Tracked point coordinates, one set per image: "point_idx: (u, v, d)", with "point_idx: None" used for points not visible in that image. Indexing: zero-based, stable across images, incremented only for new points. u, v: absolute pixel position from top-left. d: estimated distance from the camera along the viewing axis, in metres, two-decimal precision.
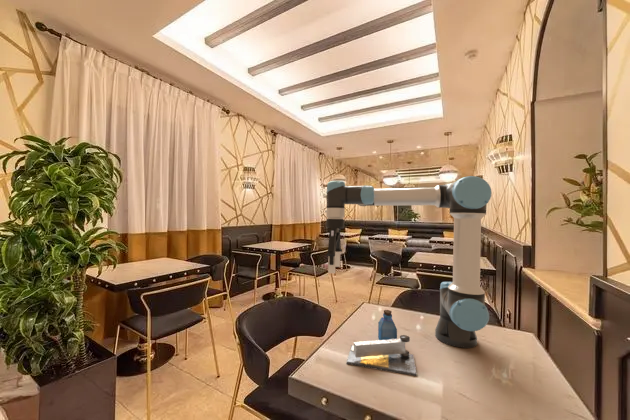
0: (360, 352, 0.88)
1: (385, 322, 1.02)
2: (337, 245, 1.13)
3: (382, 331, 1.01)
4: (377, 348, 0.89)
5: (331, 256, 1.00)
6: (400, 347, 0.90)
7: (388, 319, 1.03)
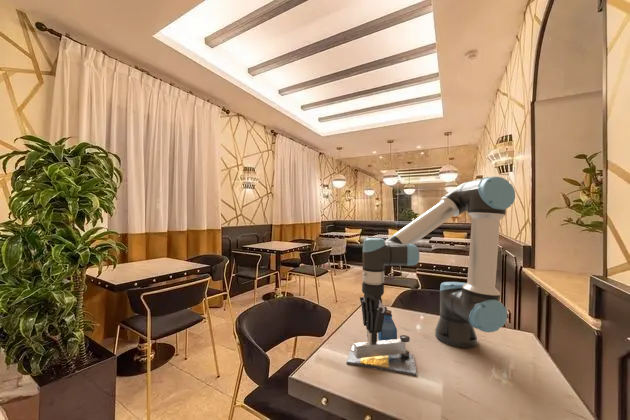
0: (361, 353, 0.87)
1: (385, 322, 1.02)
2: None
3: (382, 331, 1.01)
4: (378, 349, 0.88)
5: (375, 332, 0.90)
6: (400, 347, 0.90)
7: (388, 319, 1.03)
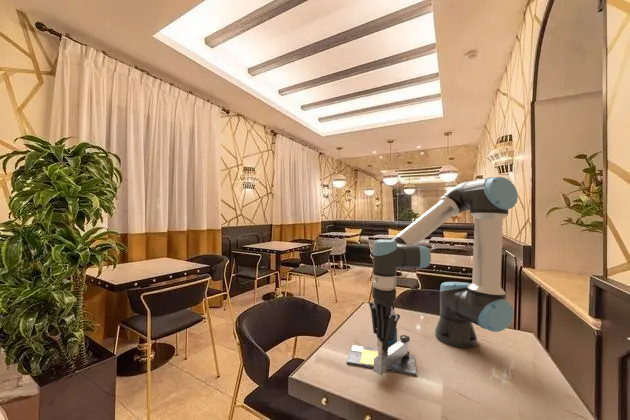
0: (383, 367, 0.79)
1: None
2: None
3: None
4: (393, 357, 0.83)
5: None
6: (405, 348, 0.89)
7: None
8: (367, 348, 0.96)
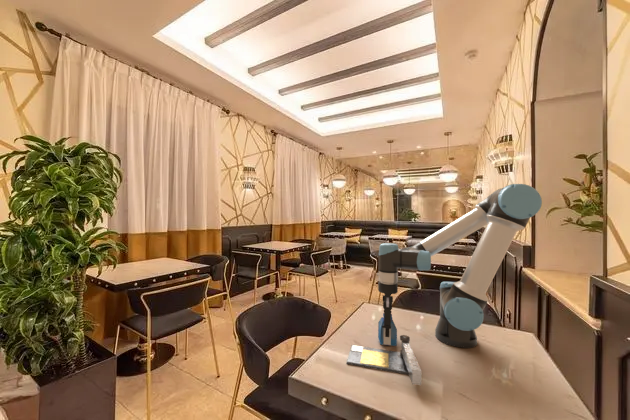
0: None
1: None
2: None
3: (382, 331, 1.01)
4: None
5: (387, 328, 0.99)
6: None
7: None
8: (367, 348, 0.96)
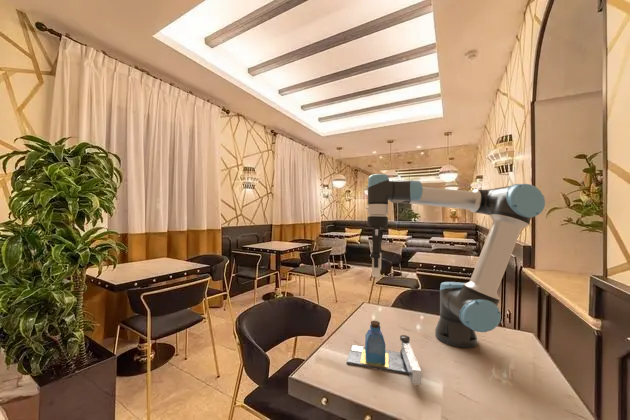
0: None
1: (372, 336, 0.88)
2: None
3: (368, 346, 0.87)
4: None
5: (376, 258, 0.89)
6: None
7: (376, 332, 0.89)
8: None
